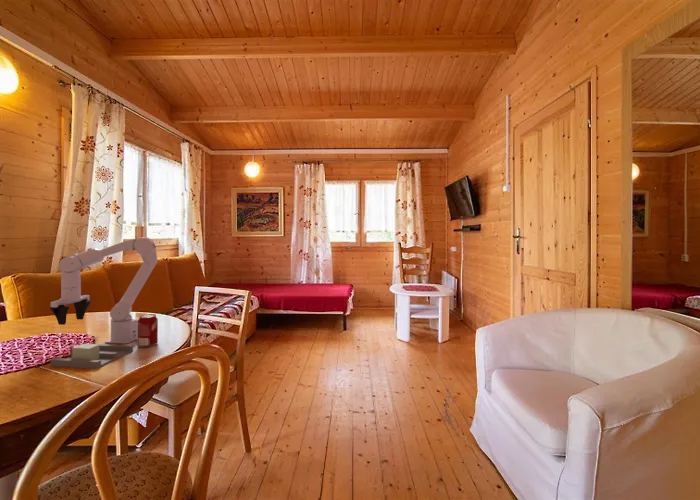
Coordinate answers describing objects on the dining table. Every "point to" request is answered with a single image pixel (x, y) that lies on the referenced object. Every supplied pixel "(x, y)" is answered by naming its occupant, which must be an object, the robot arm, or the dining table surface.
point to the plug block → (86, 352)
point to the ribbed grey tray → (105, 356)
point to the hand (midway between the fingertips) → (71, 321)
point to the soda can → (147, 330)
